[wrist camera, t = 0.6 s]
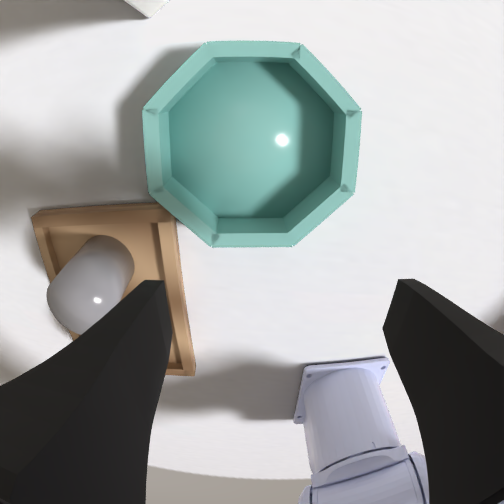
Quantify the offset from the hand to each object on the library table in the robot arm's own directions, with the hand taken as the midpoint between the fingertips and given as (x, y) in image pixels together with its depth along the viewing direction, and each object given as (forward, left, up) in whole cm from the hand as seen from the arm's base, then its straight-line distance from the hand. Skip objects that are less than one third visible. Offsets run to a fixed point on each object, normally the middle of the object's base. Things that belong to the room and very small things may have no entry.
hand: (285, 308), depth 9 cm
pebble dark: (-4, +10, -9) cm, 14 cm away
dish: (+4, +1, -10) cm, 10 cm away
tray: (-7, +10, -10) cm, 16 cm away
